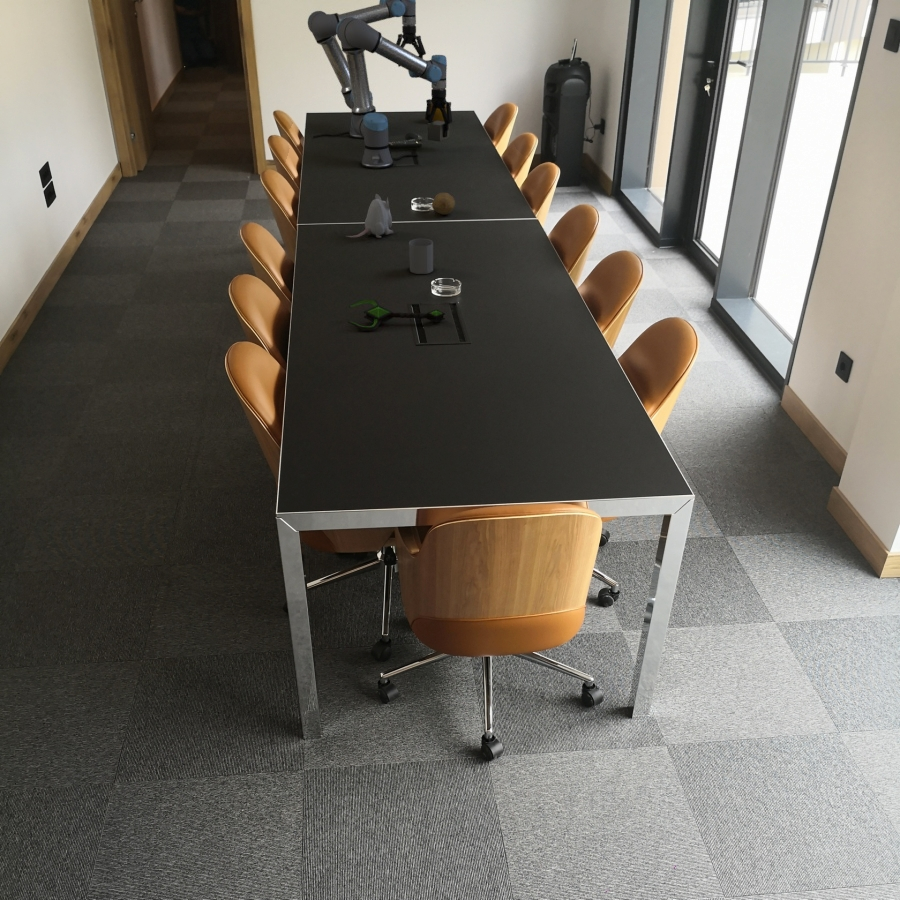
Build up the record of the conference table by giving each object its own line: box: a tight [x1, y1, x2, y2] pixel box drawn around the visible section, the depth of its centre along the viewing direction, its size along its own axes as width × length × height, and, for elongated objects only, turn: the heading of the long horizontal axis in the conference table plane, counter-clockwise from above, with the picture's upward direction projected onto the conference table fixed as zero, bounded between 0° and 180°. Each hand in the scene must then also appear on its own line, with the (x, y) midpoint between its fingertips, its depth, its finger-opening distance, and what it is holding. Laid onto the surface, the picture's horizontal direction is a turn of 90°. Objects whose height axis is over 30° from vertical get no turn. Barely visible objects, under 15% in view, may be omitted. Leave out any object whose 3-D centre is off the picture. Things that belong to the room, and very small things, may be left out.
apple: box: [430, 103, 447, 122], centre depth 502 cm, size 11×11×13 cm
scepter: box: [348, 298, 446, 331], centre depth 269 cm, size 6×13×30 cm
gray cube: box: [427, 121, 450, 143], centre depth 447 cm, size 8×8×8 cm
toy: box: [345, 193, 394, 239], centre depth 333 cm, size 9×24×15 cm, turn 137°
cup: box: [408, 237, 434, 275], centre depth 305 cm, size 8×8×10 cm
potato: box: [431, 192, 456, 216], centre depth 360 cm, size 10×14×8 cm
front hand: (438, 135), depth 448 cm, fingers closed on gray cube, 8 cm apart
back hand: (410, 67), depth 481 cm, fingers open, 13 cm apart
